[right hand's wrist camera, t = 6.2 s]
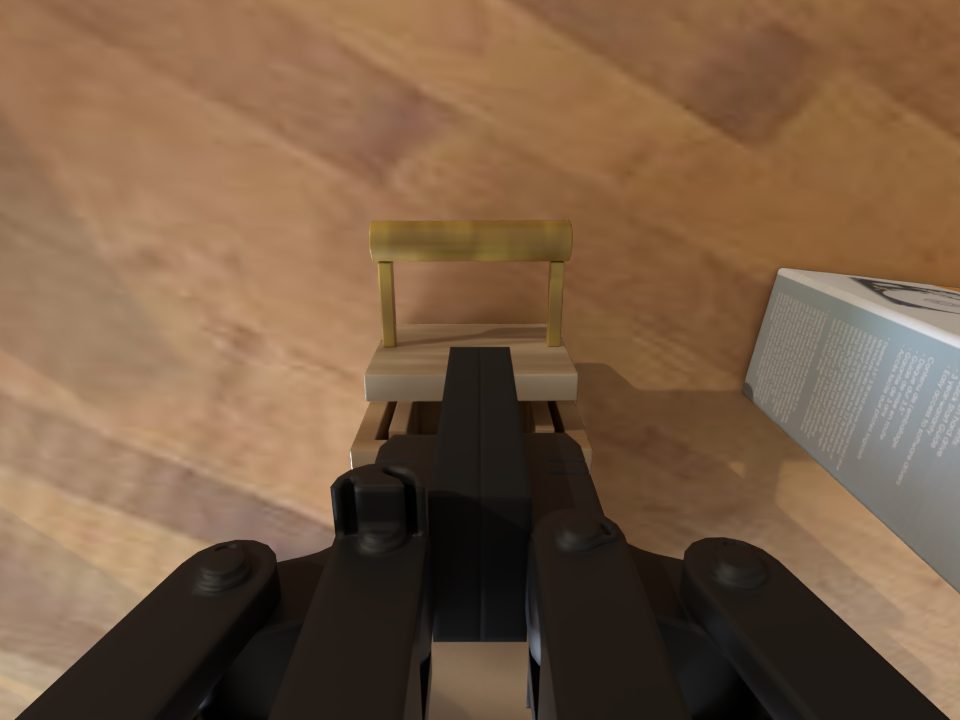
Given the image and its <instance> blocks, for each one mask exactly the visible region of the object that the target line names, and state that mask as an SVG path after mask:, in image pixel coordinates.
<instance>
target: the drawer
mask: <svg viewBox="0 0 960 720" xmlns="http://www.w3.org/2000/svg"><path fill="white" fill-rule="evenodd" d="M572 241H573V234H572V225H571V222H570V221H372V222H371V224H370V229H369V246H370V254H371V258H372V260H373V261H374V262H378V276H379V291H380V307H381V323H382V340H381V342H380V344H379V346H378V348H377V350H376V352H375V354H374V356H373V358H372V360H371V362H370V364H369V366H368V368H367V370H366V372H365V374H364V386H365V399H366V401H398V402H397V405H396V409H395V412H394V415H393V418H392V422H391V425H390V428H389V439H390V438H391V437H392V436H393V435H437V432H438V425H439V418H440V412H441V405H442V398H443V392H444V385H445V378H446V372H447V365H448V359H449V352H450V347H510V352H511V359H512V365H513V372H514V378H515V385H516V392H517V398H518V405H519V412H520V418H521V425H522V432H523V433H555V429H554V426H553V422H552V419H551V415H550V412H549V408H548V405H547V401H576V400H577V391H578V373H577V371H576V369H575V366H574V364H573V362H572V360H571V358H570V356H569V353H568V351H567V349H566V347H565V345H564V342H563V340H562V338H561V321H562V302H563V283H564V262H563V261H569V260H570V257H571V253H572ZM435 261H550V263H549V286H548V310H547V324H396V311H395V293H394V274H393V262H435Z"/></svg>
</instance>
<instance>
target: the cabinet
mask: <svg viewBox="0 0 960 720" xmlns="http://www.w3.org/2000/svg"><path fill="white" fill-rule="evenodd" d="M397 402H398V401H370V404H369V406H368V409H367V411H366V413H365V416H364V418H363V421H362V423H361V425H360V428H359V430H358V433H357V435H356V438H355V440H354V442H353V445H352V447H351V449H350V458H351V469H354V468H357V467H361V466H364V465H367V464H375V460H376V457H377V454H378V451H379V448H380V446H382V445H383V444H384V443H385V442H386V441H387V440H388V439H389V428H390V425H391V422H392V418H393V415H394V412H395V409H396V405H397ZM547 405H548V408H549V412H550V415H551V419H552V422H553V426H554V429H555V433H567V434H568V435H569V436H570V437H572V438H573V439H574V440H575V441H576V442H577V443H578V444H580V446H581V448H582V451H583V454H584V457H585V463H587V466H588V469H589V475H591V466H592V453H593V449H592V447H591V444H590V442H589V438H588V436H587V433H586V431H585V428H584V426H583V423H582V421H581V418H580V416H579V413H578V410H577V408H576V405H575V403H574V401H547ZM431 652H432V681H431V692H430V704H429V715H428V720H532V714H531V708H526V703H527V677H528V652H529V642H528V632H527V642H433V634H432V645H431Z"/></svg>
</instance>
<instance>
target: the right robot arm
mask: <svg viewBox="0 0 960 720" xmlns="http://www.w3.org/2000/svg"><path fill="white" fill-rule="evenodd" d="M330 488H331V497H332V507H333V516H334V525H335V535H336V537H335V539H334V542H333V545H332V546H331V547H329V548H327V549H325V550H322V551H320V552H318V553H314V554H311V555H308V556H304V557H300V558H295V559H291V560H286V561H281V562H277V560H276V554H275V553H274V552H273V551H272V550H271V548H270V547H269V546H268V545H266V544H263V543H260V542H257V541H255V540H233V541H229V542H224V543H219V544H216V545H213V546H211V547H209V548H206V549H204V550H202V551H199V552H197V553H196V554H195V555H193V556H192V557H190V558H189V559H188V560H186V561H185V562H183V563H182V564H181V565H180V566H179V567H178V568H177V569H176V570H174V571H173V572H172V573H171V574H170V575H169V576H168V577H167V578H166V579H165V580H164V581H163V582H162V583H161V584H159V585H158V586H157V587H156V588H155V589H154V590H153V591H152V592H151V593H150V594H149V595H148V596H147V597H146V598H144V599H143V600H142V601H141V602H140V603H139V604H138V605H137V606H136V607H135V608H134V609H133V610H132V611H131V612H129V613H128V614H127V615H126V616H125V617H124V618H123V619H122V620H121V621H120V622H119V623H118V624H117V625H115V626H114V627H113V628H112V629H111V630H110V631H109V632H108V633H107V634H106V635H105V636H104V637H103V638H102V639H100V640H99V641H98V642H97V643H96V644H95V645H94V646H93V647H92V648H91V649H90V650H89V651H88V652H87V653H85V654H84V655H83V656H82V657H81V658H80V659H79V660H78V661H77V662H76V663H75V664H74V665H73V666H72V667H70V668H69V669H68V670H67V671H66V672H65V673H64V674H63V675H62V676H61V677H60V678H59V679H58V680H57V681H55V682H54V683H53V684H52V685H51V686H50V687H49V688H48V689H47V690H46V691H45V692H44V693H43V694H41V695H40V696H39V697H38V698H37V699H36V700H35V701H34V702H33V703H32V704H31V705H30V706H29V707H28V708H26V709H25V710H24V711H23V712H22V713H21V714H20V715H19V716H18V717H17V718H16V719H15V720H428V715H429V704H430V692H431V681H432V652H431V645H432V634H433V642H527V632H528V642H529V652H528V677H527V703H526V708H531V714H532V720H950V719H949V718H948V717H947V716H946V715H945V714H944V713H943V712H941V711H940V710H939V709H938V708H937V707H936V706H935V705H934V704H933V703H932V702H931V701H930V700H928V699H927V698H926V697H925V696H924V695H923V694H922V693H921V692H920V691H919V690H918V689H917V688H915V687H914V686H913V685H912V684H911V683H910V682H909V681H908V680H907V679H906V678H905V677H904V676H903V675H901V674H900V673H899V672H898V671H897V670H896V669H895V668H894V667H893V666H892V665H891V664H890V663H888V662H887V661H886V660H885V659H884V658H883V657H882V656H881V655H880V654H879V653H878V652H877V651H875V650H874V649H873V648H872V647H871V646H870V645H869V644H868V643H867V642H866V641H865V640H864V639H863V638H861V637H860V636H859V635H858V634H857V633H856V632H855V631H854V630H853V629H852V628H851V627H850V626H848V625H847V624H846V623H845V622H844V621H843V620H842V619H841V618H840V617H839V616H838V615H837V614H836V613H834V612H833V611H832V610H831V609H830V608H829V607H828V606H827V605H826V604H825V603H824V602H823V601H821V600H820V599H819V598H818V597H817V596H816V595H815V594H814V593H813V592H812V591H811V590H810V589H808V588H807V587H806V586H805V585H804V584H803V583H802V582H801V581H800V580H799V579H798V578H797V577H796V576H794V575H793V574H792V573H791V572H790V571H789V570H788V569H787V568H786V567H785V566H784V565H783V564H781V563H780V562H779V561H778V560H777V559H775V558H774V557H772V556H771V555H770V554H768V553H767V552H765V551H764V550H763V549H760V548H758V547H756V546H753V545H751V544H749V543H746V542H744V541H739V540H735V539H730V538H725V537H718V538H704V539H702V540H699V541H696V542H693V543H692V544H691V545H690V546H689V547H688V549H687V550H686V551H685V554H684V560H681V559H676V558H672V557H667V556H662V555H658V554H654V553H651V552H647V551H644V550H641V549H639V548H636V547H634V546H632V545H630V544H628V543H627V541H626V538H625V536H624V534H623V533H622V531H621V530H620V528H619V527H618V525H617V524H615V523H614V522H613V521H611V520H610V519H608V518H607V517H605V516H604V513H603V510H602V507H601V504H600V501H599V499H598V496H597V493H596V490H595V487H594V484H593V481H592V478H591V475H589V469H588V466H587V463H585V457H584V454H583V451H582V448H581V446H580V444H578V443H577V442H576V441H575V440H574V439H573V438H572V437H570V436H569V435H568V434H567V433H523V432H522V425H521V418H520V412H519V405H518V398H517V392H516V385H515V378H514V372H513V365H512V359H511V352H510V347H450V352H449V359H448V365H447V372H446V378H445V385H444V392H443V398H442V405H441V412H440V418H439V425H438V432H437V435H393V436H392V437H391V438H390V439H388V440H387V441H386V442H385V443H384V444H383V445H382V446H380V448H379V451H378V454H377V457H376V460H375V464H367V465H364V466H361V467H357V468H354V469H351V470H349V471H348V472H346V473H344V474H343V475H341V476H340V477H338V478H337V479H336V481H335V482H334V483H333V484H332V486H331V487H330Z"/></svg>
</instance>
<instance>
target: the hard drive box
mask: <svg viewBox="0 0 960 720" xmlns="http://www.w3.org/2000/svg"><path fill="white" fill-rule="evenodd" d="M742 392H743V394H744V395H745V396H746V397H747V398H748V399H749V400H750V401H751V402H752V403H753V404H754V405H756V406H757V407H758V408H759V409H760V410H761V411H762V412H763V413H764V414H765V415H766V416H768V417H769V418H770V419H771V420H772V421H773V422H774V423H775V424H776V425H777V426H778V427H780V428H781V429H782V430H783V431H784V432H785V433H786V434H787V435H788V436H789V437H790V438H791V439H792V440H793V441H795V442H796V443H797V444H798V445H799V446H800V447H801V448H802V449H803V450H804V451H805V452H806V453H807V454H809V455H810V456H811V457H812V458H813V459H814V460H815V461H816V462H817V463H818V464H820V465H821V466H822V467H823V468H824V469H825V470H826V471H827V472H828V473H829V474H830V475H831V476H832V477H834V478H835V479H836V480H837V481H838V482H839V483H840V484H841V485H842V486H843V487H844V488H845V489H846V490H847V491H849V492H850V493H851V494H852V495H853V496H854V497H855V498H856V499H857V500H858V501H859V502H860V503H862V504H863V505H864V506H865V507H866V508H867V509H868V510H869V511H870V512H871V513H873V514H874V515H875V516H876V517H877V518H878V519H879V520H880V521H881V522H882V523H884V524H885V525H886V526H887V527H888V528H889V529H890V530H891V531H892V532H893V533H894V534H895V535H896V536H898V537H899V538H900V539H901V540H902V541H903V542H904V543H905V544H906V545H907V546H908V547H909V548H911V549H912V550H913V551H914V552H915V553H916V554H917V555H918V556H919V557H920V558H921V559H922V560H923V561H925V562H926V563H927V564H928V565H929V566H930V567H931V568H932V569H933V570H934V571H935V572H936V573H937V574H939V575H940V576H941V577H942V578H943V579H944V580H945V581H946V582H947V583H948V584H949V585H951V586H952V587H953V588H954V589H955V590H956V591H957V592H958V593H959V594H960V288H954V287H946V286H936V285H928V284H920V283H912V282H902V281H893V280H886V279H877V278H869V277H862V276H851V275H843V274H835V273H827V272H816V271H806V270H798V269H789V268H781V269H779V271H778V274H777V277H776V280H775V283H774V286H773V289H772V293H771V296H770V299H769V303H768V306H767V309H766V312H765V316H764V319H763V322H762V325H761V329H760V332H759V335H758V339H757V342H756V345H755V348H754V352H753V355H752V358H751V362H750V365H749V369H748V372H747V376H746V379H745V383H744V386H743V390H742Z"/></svg>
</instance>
